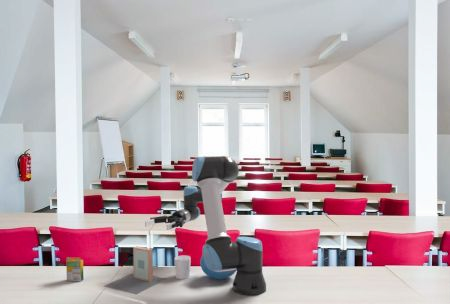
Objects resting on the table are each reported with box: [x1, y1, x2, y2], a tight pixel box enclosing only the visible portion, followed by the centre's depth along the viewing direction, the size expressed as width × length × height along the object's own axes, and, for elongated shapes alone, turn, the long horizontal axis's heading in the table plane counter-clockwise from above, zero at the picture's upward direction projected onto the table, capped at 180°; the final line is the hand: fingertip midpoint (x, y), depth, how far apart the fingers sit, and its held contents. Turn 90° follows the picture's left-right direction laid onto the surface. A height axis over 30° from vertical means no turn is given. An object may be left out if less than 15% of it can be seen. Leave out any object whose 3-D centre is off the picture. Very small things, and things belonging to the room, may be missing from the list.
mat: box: [104, 272, 168, 295], centre depth 188 cm, size 20×22×1 cm
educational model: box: [199, 254, 237, 280], centre depth 195 cm, size 16×19×15 cm
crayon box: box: [65, 256, 84, 282], centre depth 193 cm, size 7×3×12 cm, turn 84°
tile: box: [132, 246, 154, 282], centre depth 192 cm, size 10×2×15 cm, turn 61°
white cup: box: [174, 254, 192, 280], centre depth 195 cm, size 8×8×10 cm
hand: (156, 225), depth 200 cm, fingers open, 13 cm apart
